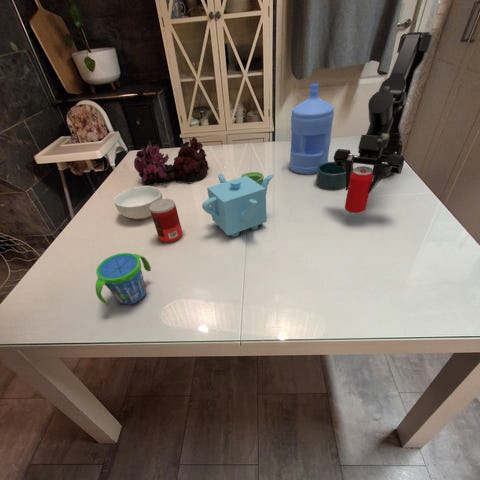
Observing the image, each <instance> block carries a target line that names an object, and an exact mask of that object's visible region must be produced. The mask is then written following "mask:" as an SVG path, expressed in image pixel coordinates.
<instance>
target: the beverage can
mask: <svg viewBox="0 0 480 480" xmlns="http://www.w3.org/2000/svg"><path fill="white" fill-rule="evenodd" d="M373 179H374V175H373V168H372V167H369V166H366V165H365V166H364V165H363V166H360V165H359V166H356V167H353V172H352V173H351V175H350V180H349V186H348V190H347V192H346V198H345V203H344V204H345V205H344V210H345V211H346V212H348V213H349V214H352V215H358V214H361V213H364V212H365V211H366V209H367V206H368V200H369V197H370V193H368V192H369V188H370V186H371V184H372V181H373Z"/></svg>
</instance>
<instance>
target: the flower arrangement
mask: <svg viewBox="0 0 480 480" xmlns="http://www.w3.org/2000/svg"><path fill="white" fill-rule="evenodd" d="M179 147H180V148H179V150H178V152H177V156H175V157H174V158H173V160H174V161H173V164H171V163H170V164H167V162H168V161H169V158H170V157H169V154H168V153H166V154H164V153H162V152H160V150H161V148H160V146H159V145H158V144H154V145H153V144H152V142H151V140H148V144H147V145H146V147H141V148H140V149H141V150H138V151H136V154H135V158H134V160H133V167H134V169H135V170H136V172H138V177H140V178H141V182H142V184H143V186H153V185H155V184H160V185H161V184H167V183H173V182H176V183H177V182H178V183H185V184H192V183H196V182H199V181H202V180H204V179H205V178H206V177H208V170H209V163H208V160H207V159H206V158H207V153H206V150H205V149H203V143H201V142H200V141H199V142H198V139H197V137H195V136H192V137H191V139H189V141H185V142H184V143H180V144H179Z"/></svg>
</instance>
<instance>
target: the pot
mask: <svg viewBox="0 0 480 480" xmlns="http://www.w3.org/2000/svg"><path fill="white" fill-rule="evenodd" d="M315 185H316V187H318V188H319V189H322V190H325V191H339V190H342V189H344V188H345V189H346V170H344V169H343V167H337V166H336V165H335V161H328V162H326V163H323V164H321V165H319V166H318V167H317V173H316V180H315Z"/></svg>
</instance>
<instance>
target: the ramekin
mask: <svg viewBox="0 0 480 480" xmlns="http://www.w3.org/2000/svg"><path fill="white" fill-rule="evenodd" d="M244 176H248V177H249V178H251V179H252V180H254V181H255V182H257V183H258V184H259V185H261V184H262V182H263V180H264V179H265V175H264V174H263V173H262V172H259V171H249V172H245V173H243V174H241V176H240V178H241V177H244Z"/></svg>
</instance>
